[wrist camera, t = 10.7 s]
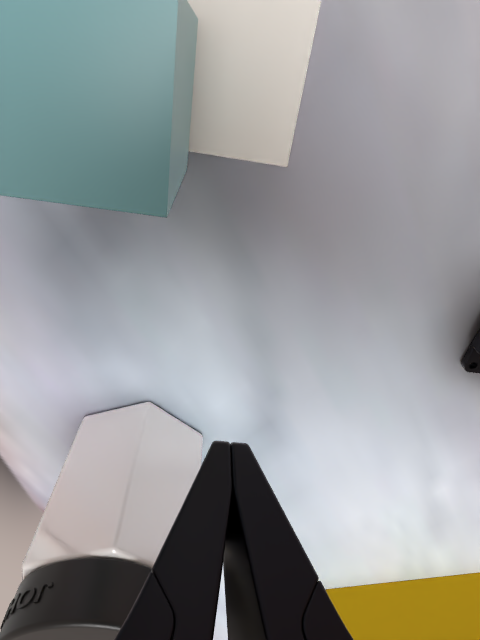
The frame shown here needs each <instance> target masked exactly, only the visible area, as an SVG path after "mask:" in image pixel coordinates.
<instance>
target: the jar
mask: <svg viewBox="0 0 480 640" xmlns="http://www.w3.org/2000/svg"><path fill="white" fill-rule="evenodd" d="M202 443H203V436H202V434H200V433H199V432H197V431H195V430H194V429H192V428H191V427H189V426H188V425H186V424H184V423H183V422H181V421H180V420H178V419H176V418H175V417H173V416H172V415H170V414H168V413H167V412H165V411H164V410H162V409H161V408H159V407H157V406H156V405H154V404H153V403H151V402H145V403H140V404H136V405H132V406H127V407H123V408H119V409H114V410H110V411H106V412H101V413H97V414H93V415H89V416H85V417H84V418H83V420H82V422H81V425H80V427H79V429H78V432H77V434H76V437H75V439H74V441H73V444H72V446H71V448H70V451H69V453H68V456H67V458H66V460H65V463H64V465H63V468H62V470H61V472H60V475H59V477H58V480H57V482H56V484H55V487H54V489H53V492H52V494H51V496H50V499H49V501H48V504H47V506H46V508H45V511H44V513H43V516H42V518H41V520H40V523H39V525H38V528H37V530H36V532H35V535H34V537H33V540H32V542H31V545H30V547H29V549H28V552H27V554H26V556H25V559H24V561H23V564H22V580H23V581H22V582H21V584H20V586H19V588H18V590H17V593H16V595H15V598H14V599H13V600H12V602H11V603H10V605H9V607H8V610H7V612H6V615H5V617H4V620H3V622H2V626H1V632H0V640H114V639H115V637H116V635H117V633H118V632H119V630H120V628H121V627H122V625H123V623H124V622H125V620H126V618H127V616H128V614H129V612H130V611H131V609H132V607H133V605H134V603H135V601H136V599H137V597H138V595H139V593H140V591H141V589H142V587H143V585H144V583H145V581H146V579H147V577H148V575H149V573H150V572H151V569H152V567H153V565H154V563H155V561H156V559H157V557H158V554H159V552H160V550H161V548H162V546H163V544H164V542H165V540H166V538H167V536H168V534H169V532H170V530H171V528H172V525H173V523H174V521H175V519H176V517H177V515H178V513H179V511H180V509H181V507H182V505H183V503H184V501H185V498H186V496H187V494H188V492H189V490H190V488H191V486H192V484H193V482H194V480H195V478H196V476H197V474H198V471H199V469H200V467H201V458H202Z"/></svg>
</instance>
